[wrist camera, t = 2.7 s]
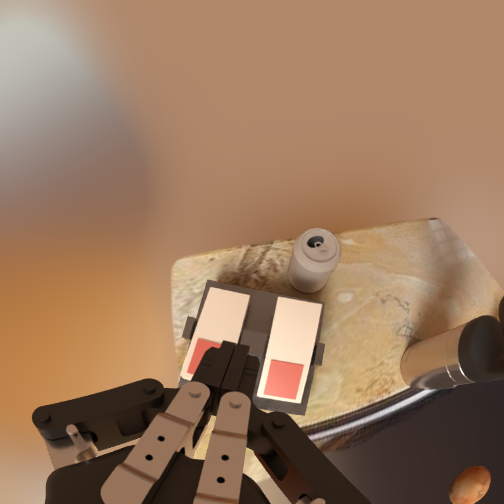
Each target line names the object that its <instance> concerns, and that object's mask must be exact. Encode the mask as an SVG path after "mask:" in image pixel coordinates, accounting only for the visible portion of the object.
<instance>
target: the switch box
mask: <svg viewBox="0 0 504 504" xmlns="http://www.w3.org/2000/svg"><path fill="white" fill-rule="evenodd" d="M210 287H213V288H218V289H222V290H227V291H232V292H237V293H242V294H247V295H250V302H249V306H248V310H247V314H246V318H245V322H244V326H243V330H242V333H241V337H240V341H239V344H244V345H248V346H250V351H249V355H251V356H256V357H258V359H259V362H260V367H259V371H258V375H257V380H256V384H255V389H254V393H253V403H254V405H255V406H256V407H257V408H259V409H264V410H270V411H278V412H283V413H289V414H296V415H303V416H305V412H306V407H307V403H308V398H309V393H310V388H311V383H312V378H313V373H314V368H315V367H318V366H321V365H322V359H323V353H324V347H325V344H322V343H319V338H320V331H321V325H322V318H323V310H324V303H325V302H320V301H315V300H309V299H303V298H298V297H292V296H287V295H281V294H276V293H271V292H266V291H260V290H255V289H250V288H245V287H240V286H235V285H231V284H226V283H221V282H216V281H212V280H207V283H206V286H205V290H204V293H203V297H202V300H201V304H200V307H199V311H198V314H197V318H196V319H195V318H193V317H189V316H188V317H187V321H186V325H185V328H184V332H183V335H182V337H183V338H185V339H186V340H188V341H189V342H190V343H189V347H190V344H191V341H192V338H193V335H194V332H195V329H196V326H197V323H198V321H199V318H200V315H201V312H202V309H203V306H204V304H205V301H206V298H207V295H208V292H209V290H210ZM278 297H284V298H289V299H295V300H300V301H306V302H311V303H317V304H322V308H321V313H320V318H319V324H318V329H317V334H316V339H315V343H314V348H313V353H312V357H311V362H310V366H309V371H308V375H307V379H306V383H305V387H304V391H303V395H302V399H301V403H294V402H288V401H281V400H275V399H269V398H264V397H259V396H257V392H258V388H259V384H260V379H261V375H262V370H263V366H264V361H265V357H266V352H267V348H268V343H269V338H270V333H271V329H272V324H273V319H274V314H275V309H276V304H277V299H278ZM189 347H188V350H189ZM187 353H188V351H187ZM188 382H190V380H187V379H183V378H182V376H181V378H180V382H179V386H178V388H181V387H182V386H183V385H184V384H186V383H188Z"/></svg>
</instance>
